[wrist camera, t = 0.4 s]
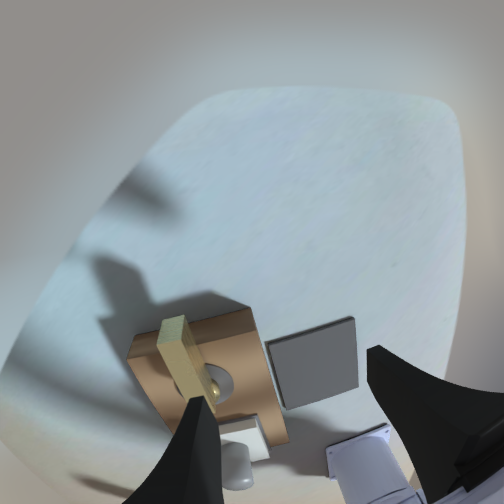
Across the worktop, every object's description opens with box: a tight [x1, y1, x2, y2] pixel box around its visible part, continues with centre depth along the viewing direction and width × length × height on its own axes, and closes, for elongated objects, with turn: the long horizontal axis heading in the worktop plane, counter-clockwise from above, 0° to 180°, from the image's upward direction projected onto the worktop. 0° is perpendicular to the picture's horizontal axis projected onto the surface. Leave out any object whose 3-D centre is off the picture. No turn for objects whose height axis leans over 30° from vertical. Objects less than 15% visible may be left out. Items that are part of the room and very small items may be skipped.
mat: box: [268, 317, 359, 410], centre depth 24 cm, size 8×7×1 cm
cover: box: [219, 418, 270, 491], centre depth 20 cm, size 5×5×4 cm
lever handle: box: [156, 315, 220, 413], centre depth 18 cm, size 7×2×3 cm, turn 14°
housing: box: [126, 307, 290, 451], centre depth 22 cm, size 13×9×3 cm
